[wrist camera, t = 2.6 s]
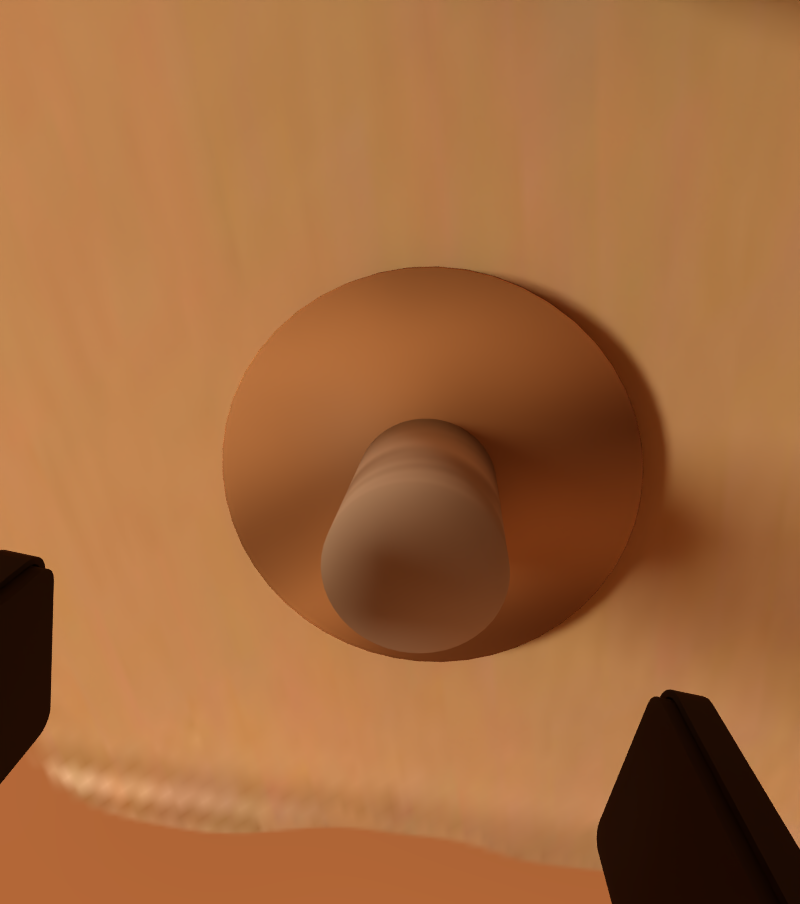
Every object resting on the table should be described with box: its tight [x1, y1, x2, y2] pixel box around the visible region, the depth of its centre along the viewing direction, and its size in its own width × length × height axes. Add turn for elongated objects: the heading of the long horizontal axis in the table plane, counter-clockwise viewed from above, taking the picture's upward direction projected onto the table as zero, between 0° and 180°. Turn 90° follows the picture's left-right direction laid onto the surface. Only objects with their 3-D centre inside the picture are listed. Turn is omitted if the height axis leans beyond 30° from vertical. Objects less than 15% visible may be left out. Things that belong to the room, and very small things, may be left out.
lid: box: [223, 267, 643, 662], centre depth 16 cm, size 12×12×6 cm
